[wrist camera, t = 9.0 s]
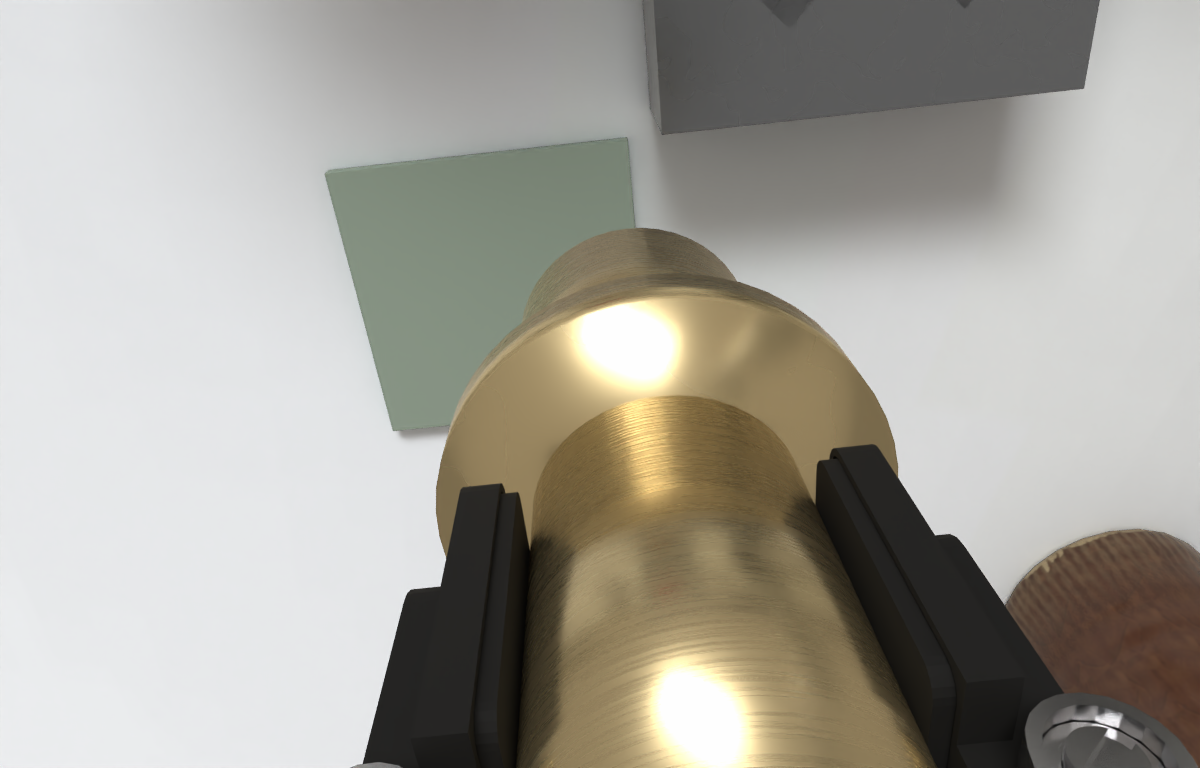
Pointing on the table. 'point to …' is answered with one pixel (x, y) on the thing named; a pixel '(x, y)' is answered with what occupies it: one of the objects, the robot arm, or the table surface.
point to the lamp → (1121, 623)
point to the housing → (854, 56)
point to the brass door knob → (679, 519)
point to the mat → (465, 255)
